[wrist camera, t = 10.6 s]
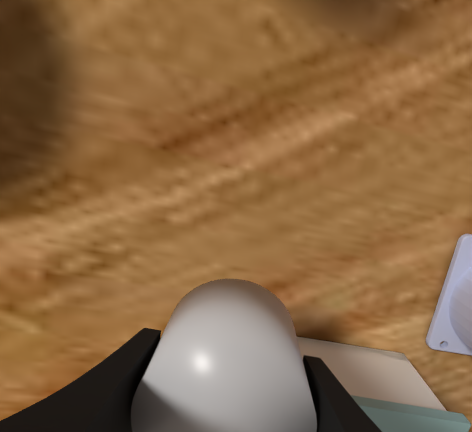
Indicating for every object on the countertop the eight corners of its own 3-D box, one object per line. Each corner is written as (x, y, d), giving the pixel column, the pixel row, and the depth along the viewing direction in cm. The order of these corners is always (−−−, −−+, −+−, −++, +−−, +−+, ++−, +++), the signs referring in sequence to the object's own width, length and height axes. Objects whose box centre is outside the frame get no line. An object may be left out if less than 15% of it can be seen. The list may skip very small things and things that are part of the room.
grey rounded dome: (309, 293, 12) (339, 365, 8) (278, 402, 13) (291, 513, 9) (178, 266, 12) (143, 324, 8) (159, 378, 13) (120, 477, 9)
